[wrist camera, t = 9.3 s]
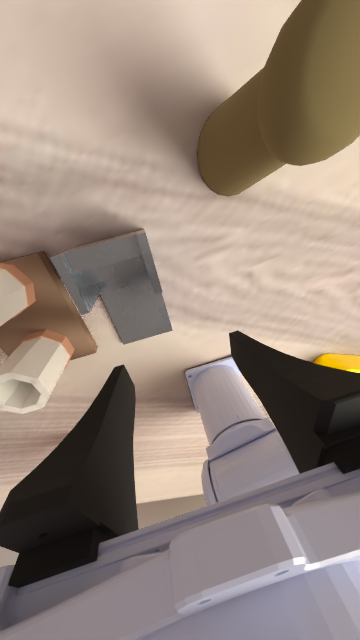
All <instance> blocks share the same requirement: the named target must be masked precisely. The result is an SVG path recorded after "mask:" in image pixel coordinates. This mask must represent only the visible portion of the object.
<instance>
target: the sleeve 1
mask: <svg viewBox="0 0 360 640" xmlns="http://www.w3.org/2000/svg"><path fill="white" fill-rule="evenodd" d="M35 301H36V299H35V292H34V284H33V281H31V280H30V279H29V278H28V277H27V276H26V275H25V274H23V273H22V272H21V271H20V270H19V269H18V268H17V267H15V266H14V265H11V264H4V263H0V326H2V325H3V324H4V323H6V322H7V321H8V320H10V319H11V318H14V317H16V316H17V315H18V314H20V313H21V312H22V311H24V310H25V309H26V308H27V307H29V306H30V305H31V304H33V303H34V302H35Z"/></svg>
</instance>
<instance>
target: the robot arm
mask: <svg viewBox="0 0 360 640" xmlns="http://www.w3.org/2000/svg"><path fill="white" fill-rule="evenodd" d="M229 337H230V346H231V355H232V357H228V358H225V359H222V360H218V361H215V362H212V363H209V364H205V365H202V366H199V367H196V368H192V369H189V370H186V372H185V375H186V378H187V382H188V385H189V389H190V392H191V395H192V399H193V402H194V406H195V409H196V412H197V413H200V415H201V419H202V422H203V425H204V429H205V432H206V435H207V438H208V442H209V445H210V446H209V447H207V448H206V451H207V455H208V458H209V459H208V460H206V461H204V463H203V469H202V475H201V478H202V487H203V492H204V496H205V500H206V503H207V506H205V507H203V508H200V509H197V510H194V511H191V512H188V513H185V514H182V515H179V516H177V517H174V518H171V519H168V520H165V521H162V522H160V523H156V524H153V525H151V526H148V527H145V528H142V529H139V530H138V519H137V510H136V509H137V508H136V495H135V481H134V460H133V432H134V417H135V386H134V384H133V382H132V380H131V378H130V376H129V374H128V372H127V370H126V368H125V366H124V365H121V366H117V367H115V368H114V369H113V371H112V373H111V374H110V376H109V378H108V379H107V381H106V383H105V384H104V386H103V388H102V389H101V391H100V392H99V394H98V396H97V397H96V399H95V400H94V402H93V403H92V405H91V406H90V408H89V409H88V410H87V412H86V413H85V414H84V416H83V417H82V418H81V420H80V421H79V422H78V423H77V425H76V426H75V427H74V428H73V429H72V431H71V432H70V433H69V434H68V435H67V436H66V437H65V438H64V440H63V441H62V442H61V443H60V444H59V445H58V446H57V447H56V448H55V449H54V450H53V451H52V452H51V453H50V454H49V455H48V456H47V457H46V458H45V459H44V460H43V461H42V462H41V463H40V464H39V465H38V466H37V467H36V468H35V469H34V470H33V471H32V472H31V473H30V474H29V475H27V476H26V477H25V478H24V479H23V480H22V481H21V482H20V483H19V484H17V485H16V486H15V487H14V488H13V489H12V490H11V491H10V493H9V495H8V497H7V499H6V501H5V503H4V505H3V507H2V509H1V511H0V546H1V547H4V548H7V549H9V550H12V551H15V552H18V553H19V556H18V558H17V561H16V564H15V565H8V566H4V567H0V640H360V373H359V372H353V371H347V370H342V369H337V368H332V367H328V366H324V365H319V364H316V363H312V362H309V361H305V360H302V359H299V358H296V357H293V356H290V355H287V354H285V353H282V352H280V351H277V350H275V349H273V348H270V347H268V346H266V345H264V344H262V343H260V342H258V341H256V340H254V339H252V338H251V337H249V336H247V335H245V334H243V333H241V332H239V331H235V332H231V333H229ZM241 373H242V375H243V376H244V378H245V379H246V381H247V382H248V383H249V385H250V386H251V388H252V389H253V390H254V392H255V393H256V395H257V396H258V398H259V399H260V401H261V402H262V404H263V406H264V407H265V409H266V411H267V413H268V414H269V416H270V418H271V420H272V421H273V423H274V425H275V427H276V428H275V427H274V425H273V424H272V422H271V420H270V419H269V418H268V417H267V418H266V416H265V415H264V413H263V412H262V410H261V408H260V407H259V405H258V404H257V402H256V401H255V399H254V397H253V396H252V394H251V393H250V391H249V390H248V388H247V386H246V385H245V383H244V382H243V380H242V378H241ZM189 375H190V376H189ZM276 429H277V430H276Z"/></svg>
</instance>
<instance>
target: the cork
mask: <svg viewBox="0 0 360 640" xmlns="http://www.w3.org/2000/svg"><path fill="white" fill-rule="evenodd" d="M359 135H360V0H301V2H300V3H299V4H298V6H297V7H296V8H295V10H294V11H293V12H292V14H291V15H290V17H289V18H288V19H287V21H286V22H285V24H284V25H283V27H282V28H281V30H280V33H279V35H278V37H277V39H276V42H275V44H274V46H273V48H272V51H271V53H270V55H269V57H268V60H267V62H266V64H265V67H264V68H263V69H262V70H260V71H259V72H258V73H257V74H256V75H255V76H254V77H252V78H251V79H250V80H249V81H248V82H247V83H246V84H245V85H243V86H242V87H241V88H240V89H239V90H238V91H237V92H236V93H234V94H233V95H232V96H231V97H230V98H229V99H228V100H226V101H225V102H224V103H223V104H222V105H221V106H220V107H219V108H217V109H216V110H215V111H214V112H213V113H212V114H211V116H210V117H209V118H208V120H207V121H206V122H205V124H204V126H203V129H202V131H201V134H200V137H199V142H198V149H197V158H198V167H199V170H200V173H201V175H202V178H203V180H204V182H205V183H206V184H207V186H208V187H209V188H210V189H211V190H212V191H214V192H216V193H217V194H219V195H224V196H232V195H237V194H239V193H241V192H242V191H244V190H246V189H247V188H249V187H250V186H252V185H253V184H255V183H257V182H258V181H260V180H261V179H263V178H265V177H266V176H268V175H269V174H271V173H272V172H274V171H276V170H277V169H279V168H280V167H282V166H283V165H285V164H291V165H298V166H302V165H307V164H312V163H316V162H320V161H323V160H326V159H327V158H329V157H331V156H332V155H334V154H336V153H337V152H339V151H341V150H342V149H344V148H345V147H347V146H348V145H350V144H351V143H353V142H354V141H355V140H356V138H357V137H358V136H359Z"/></svg>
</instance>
